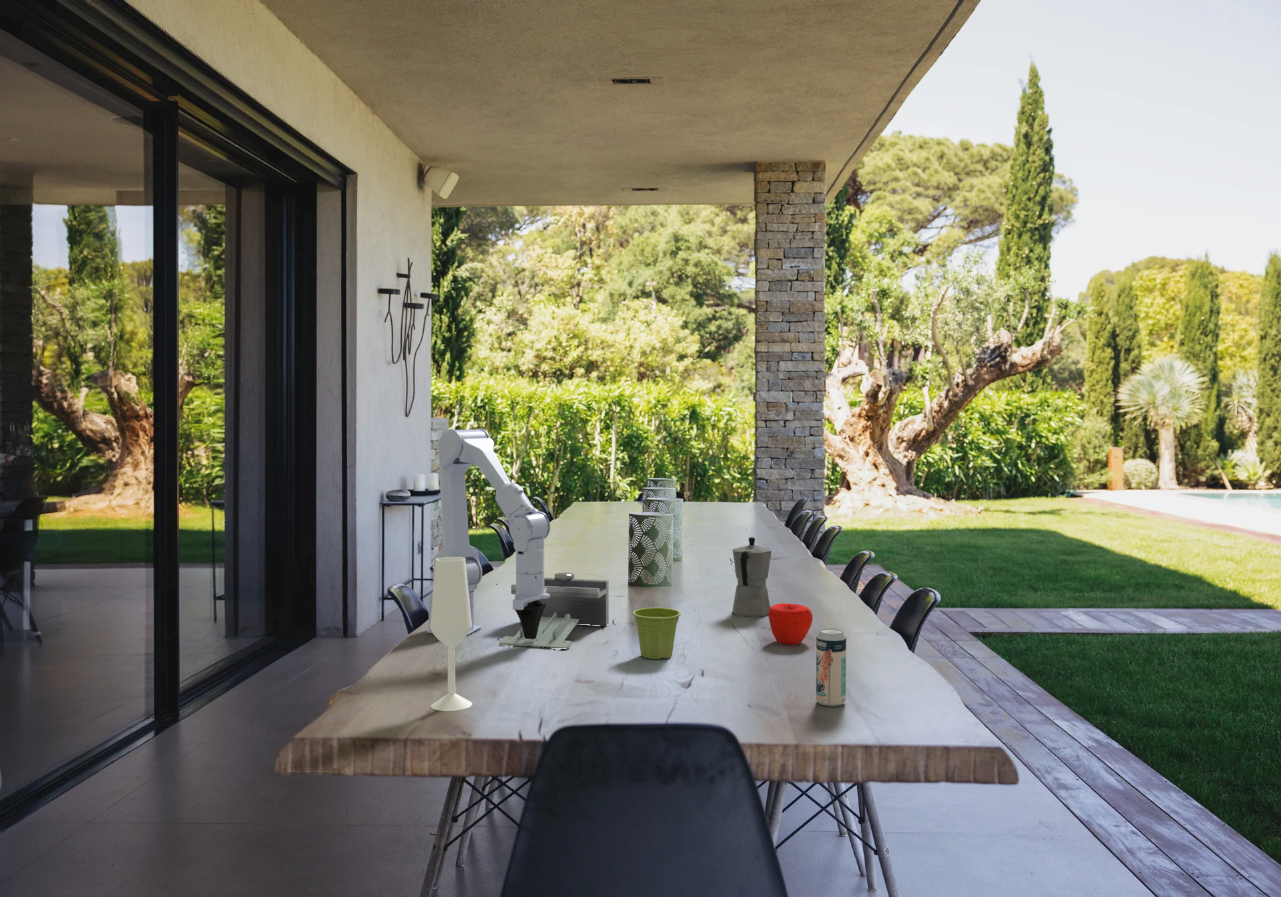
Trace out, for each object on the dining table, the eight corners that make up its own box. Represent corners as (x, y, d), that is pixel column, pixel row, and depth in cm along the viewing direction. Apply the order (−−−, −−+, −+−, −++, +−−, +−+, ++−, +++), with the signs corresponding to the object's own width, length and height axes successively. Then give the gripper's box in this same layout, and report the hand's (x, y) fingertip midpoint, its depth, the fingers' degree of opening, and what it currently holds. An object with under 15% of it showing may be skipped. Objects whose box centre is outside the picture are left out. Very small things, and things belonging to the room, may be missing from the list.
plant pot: (686, 652, 202) (686, 609, 202) (672, 664, 193) (672, 618, 193) (642, 649, 205) (642, 606, 205) (626, 660, 196) (626, 615, 196)
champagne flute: (470, 710, 163) (469, 561, 162) (428, 711, 163) (426, 562, 162) (474, 698, 170) (473, 555, 169) (433, 699, 170) (432, 556, 169)
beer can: (812, 699, 169) (813, 628, 169) (840, 699, 170) (841, 627, 169) (820, 708, 165) (820, 634, 164) (849, 707, 165) (849, 634, 165)
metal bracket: (523, 606, 220) (588, 610, 215) (526, 630, 222) (591, 634, 217) (495, 638, 207) (564, 643, 202) (499, 664, 209) (567, 669, 204)
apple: (817, 640, 212) (817, 603, 212) (803, 649, 205) (803, 610, 204) (776, 636, 217) (777, 599, 216) (761, 644, 209) (761, 606, 209)
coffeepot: (738, 606, 249) (739, 533, 248) (777, 609, 245) (777, 534, 245) (722, 619, 234) (722, 541, 233) (762, 621, 231) (763, 542, 230)
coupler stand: (511, 627, 225) (511, 577, 224) (526, 619, 234) (525, 570, 233) (598, 632, 220) (598, 581, 219) (610, 623, 229) (609, 574, 228)
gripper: (536, 578, 199) (536, 647, 200) (560, 567, 213) (560, 631, 214) (502, 577, 201) (503, 645, 202) (528, 566, 215) (529, 630, 216)
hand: (530, 638), depth 208 cm, fingers closed
